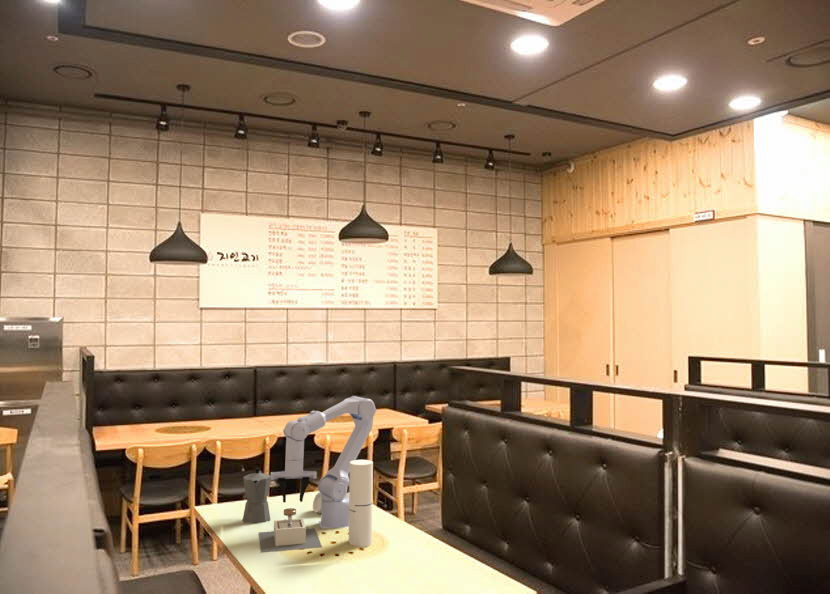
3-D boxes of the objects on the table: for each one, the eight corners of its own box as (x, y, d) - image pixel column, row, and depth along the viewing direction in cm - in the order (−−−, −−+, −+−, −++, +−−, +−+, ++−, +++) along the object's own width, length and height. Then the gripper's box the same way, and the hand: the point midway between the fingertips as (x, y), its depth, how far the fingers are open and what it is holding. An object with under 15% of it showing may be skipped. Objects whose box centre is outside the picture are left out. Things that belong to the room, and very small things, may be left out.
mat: (314, 529, 212) (314, 528, 212) (322, 549, 195) (322, 547, 195) (258, 534, 207) (258, 532, 207) (260, 554, 190) (260, 552, 190)
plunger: (299, 522, 205) (299, 506, 205) (301, 529, 199) (301, 512, 199) (278, 524, 203) (278, 507, 204) (279, 530, 197) (280, 513, 197)
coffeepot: (268, 526, 215) (269, 472, 215) (239, 527, 214) (240, 472, 214) (272, 512, 230) (273, 461, 231) (245, 513, 229) (246, 462, 229)
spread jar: (353, 510, 234) (354, 477, 235) (333, 518, 225) (334, 484, 225) (328, 504, 241) (328, 473, 241) (307, 512, 231) (308, 479, 231)
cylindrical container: (368, 548, 196) (369, 465, 197) (345, 546, 197) (346, 464, 198) (374, 540, 203) (375, 460, 204) (352, 538, 204) (353, 459, 205)
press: (302, 533, 207) (302, 518, 207) (305, 543, 198) (305, 527, 198) (273, 535, 204) (274, 520, 204) (275, 545, 196) (275, 529, 196)
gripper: (315, 455, 215) (313, 497, 214) (270, 456, 211) (268, 498, 210) (318, 460, 208) (316, 502, 207) (272, 461, 204) (270, 504, 203)
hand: (292, 501), depth 208 cm, fingers open, 5 cm apart
